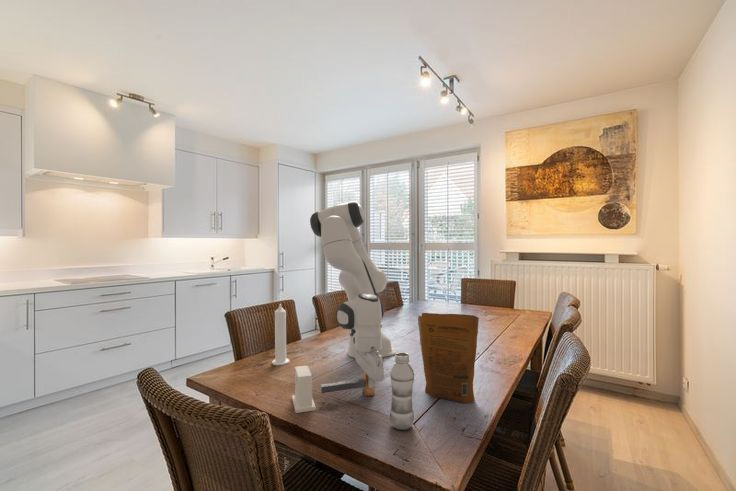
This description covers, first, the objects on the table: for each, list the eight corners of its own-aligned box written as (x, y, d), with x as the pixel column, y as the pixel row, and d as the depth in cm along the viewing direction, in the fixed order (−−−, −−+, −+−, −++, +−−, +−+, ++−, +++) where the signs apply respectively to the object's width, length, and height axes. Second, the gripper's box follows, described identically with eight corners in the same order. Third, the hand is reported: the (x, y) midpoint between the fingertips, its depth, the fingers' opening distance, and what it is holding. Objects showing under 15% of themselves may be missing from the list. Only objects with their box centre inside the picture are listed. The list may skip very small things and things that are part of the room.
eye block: (310, 395, 115) (310, 364, 114) (315, 409, 105) (315, 375, 105) (292, 398, 113) (291, 366, 113) (295, 413, 103) (295, 378, 103)
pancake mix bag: (477, 408, 106) (477, 317, 105) (417, 396, 114) (417, 311, 114) (480, 399, 112) (480, 313, 111) (423, 388, 120) (423, 308, 120)
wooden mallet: (371, 391, 118) (371, 367, 118) (374, 394, 115) (374, 370, 115) (320, 398, 112) (320, 374, 112) (322, 402, 109) (322, 377, 109)
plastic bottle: (388, 421, 99) (387, 351, 98) (411, 420, 99) (411, 350, 99) (391, 433, 92) (391, 359, 92) (416, 432, 93) (416, 358, 92)
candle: (285, 366, 142) (284, 305, 141) (269, 365, 143) (268, 304, 142) (292, 360, 148) (291, 302, 148) (276, 359, 150) (276, 301, 149)
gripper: (388, 351, 107) (388, 396, 107) (368, 334, 126) (368, 372, 126) (369, 353, 105) (369, 399, 105) (351, 336, 124) (351, 374, 124)
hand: (368, 384), depth 116 cm, fingers closed on wooden mallet, 3 cm apart
